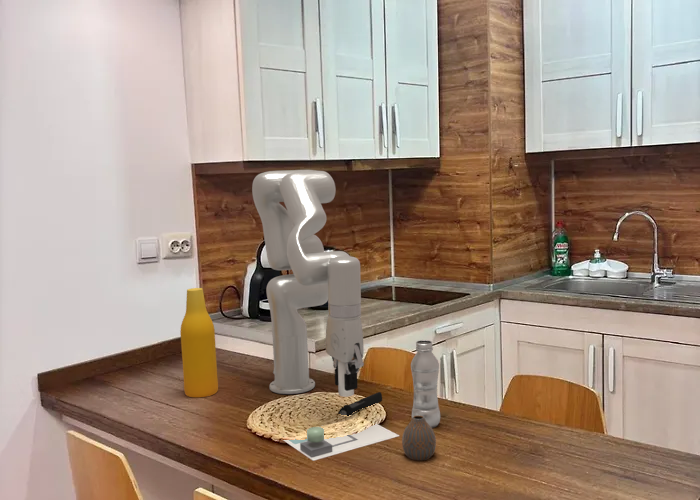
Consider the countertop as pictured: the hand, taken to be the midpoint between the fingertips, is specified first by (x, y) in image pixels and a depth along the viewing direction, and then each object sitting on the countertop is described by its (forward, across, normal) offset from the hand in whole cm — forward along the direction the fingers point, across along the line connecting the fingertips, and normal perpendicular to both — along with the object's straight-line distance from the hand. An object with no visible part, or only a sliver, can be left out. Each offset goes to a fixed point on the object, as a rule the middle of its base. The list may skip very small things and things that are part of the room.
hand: (346, 385), depth 165 cm
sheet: (+9, +6, -6) cm, 13 cm away
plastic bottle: (+9, +12, +14) cm, 21 cm away
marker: (+2, 0, 0) cm, 2 cm away
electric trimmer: (+10, -7, +8) cm, 15 cm away
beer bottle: (+12, -45, -19) cm, 51 cm away
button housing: (+8, +10, -14) cm, 19 cm away
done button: (+6, +10, -14) cm, 18 cm away
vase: (+9, +26, +2) cm, 27 cm away
